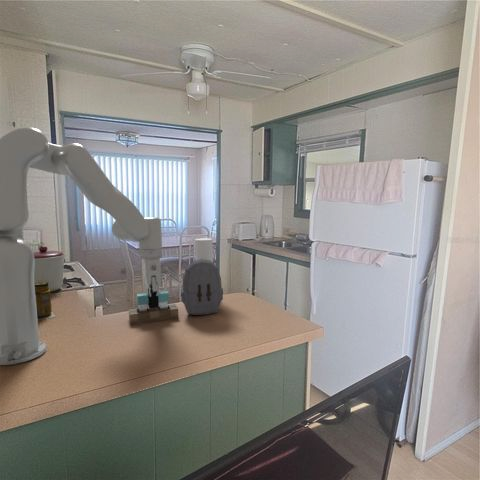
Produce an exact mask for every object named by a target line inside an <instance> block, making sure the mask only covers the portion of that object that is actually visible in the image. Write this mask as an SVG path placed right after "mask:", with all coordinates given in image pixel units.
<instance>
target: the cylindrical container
mask: <svg viewBox="0 0 480 480" xmlns="http://www.w3.org/2000/svg"><path fill="white" fill-rule="evenodd" d="M213 248H214V246H213V238H211V237H208V238H206V237H201V238H195V239H194V255H195V257H194V259H195V260H194V261H197V260H200V259H204V260H210V261H211V262H213V263H214V255H213V253H214V251H213Z"/></svg>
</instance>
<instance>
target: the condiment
mask: <svg viewBox="0 0 480 480" xmlns="http://www.w3.org/2000/svg"><path fill="white" fill-rule="evenodd" d="M34 284H35V296H36V308H37V320H38V321H40V320H41V321H43V320H48V319H51V318H56V317H57V316H56V315H55V313H54V312H52V311H53V310H52V298H51V292H50V290H49V286H48V285H49V284H48V283H47V282H38V283H34Z"/></svg>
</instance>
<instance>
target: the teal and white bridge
mask: <svg viewBox="0 0 480 480" xmlns="http://www.w3.org/2000/svg"><path fill="white" fill-rule="evenodd" d="M158 301H159V306H160V310H164V309H168V305H169V303H168V302H170V293H169V291H168V290H164V291H163V290H162V291H158ZM136 303H137V306H138V308H139V313H140V312H147V307H148V304H149V293H148V292H145V293H144V292H143V293H137V294H136Z"/></svg>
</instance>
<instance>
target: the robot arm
mask: <svg viewBox="0 0 480 480" xmlns="http://www.w3.org/2000/svg"><path fill="white" fill-rule="evenodd" d="M30 168H31V169H34V170H39V171H44V172H47V173H52V174H57V175H63V176H68V177H69V178H70V179H71V180H72V182H73V183H74V184H75V186H76V187H77V188H78V189H79V191H80V192H81V193H82V195H84V197H85V198H86V199H87V200H88V201H89V202H90V203H91V204H93V205H94V206H96V207H97V208H99V209H101V210H103V211H105V212H106V213H107V214H109V215H110V216H111V217H112V218H113V219H114V220H115V221H114V222H113V224H112V225H111V232H112V234H113V235H114V237H116V239H118V240H120V241H124V242H125V241H127V242H133V243H138V247H139V248H138V249H139V250H138V251H139V252H138V253H139V260H143V275H144V276H143V277H144V284H145V286H146V288H147V293H149V304H147V306H148V307H149V308H158V307H159V301H158V292H159V289H158V287H159V288H160V289H161V288H162V287H163V282H162V281H163V279H162V266H161V259H163V237H162V221H161V219H160V218H159V217H155V216H152V217H151V216H147V217H146V216H145V217H144V216H143V214H142V213H141V211H140V210H139V209H138V207H137V206H136V205H135V204H134V203H133V202H132V201H131V200H130V199H129V198H128V197H127V196H126V195H125V194H124V193H122V191H121V190H119V189H118V188H117V187H116V186H115V185H114V184H113V183H112V181H111V180H110V179H109V177H108V176H107V174H106V173H105V172H104V171H103V170H102V167H100V165H99V164H98V162H97V161H96V160H95V159H94V156H92V154H91V153H90V151H89V150H88V149H87V147H85V146H83V145H82V144H79V143H75V142H73V143H68V144H65V145H59V144H53V143H50V142H49V140H48V139H47V136H46V135H45V134H44V133H43V132H42V131H41V130H40V129H38V128H34V127H31V126H30V127H28V126H27V127H20V128H17V129H14V130H12V131H9V132H8V133H6V134H4V135H3V136H2V137H0V366H10V365H11V366H12V365H18V364H21V363H26V362H28V361H29V362H30V361H31V360H33V359H36V358H39V357H40V356H42V355H43V354H44V353H45V352H46V351H47V345H46V343H45V342H42V341H40V336H39V335H40V334H39V323H38V321H39V320H37V308H36V296H35V284H34V266H35V260H34V253H33V252H34V250H33V249H32V247H31V245H30V244H29V243H28V242H26V241H25V240H24V235H23V234H24V231H23V228H24V227H25V226H26V225H27V224H28V220H29V217H30V215H29V214H30V213H29V212H30V211H29V205H28V191H27V187H28V185H27V183H28V181H27V180H28V179H27V178H28V172H29V169H30Z"/></svg>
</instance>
